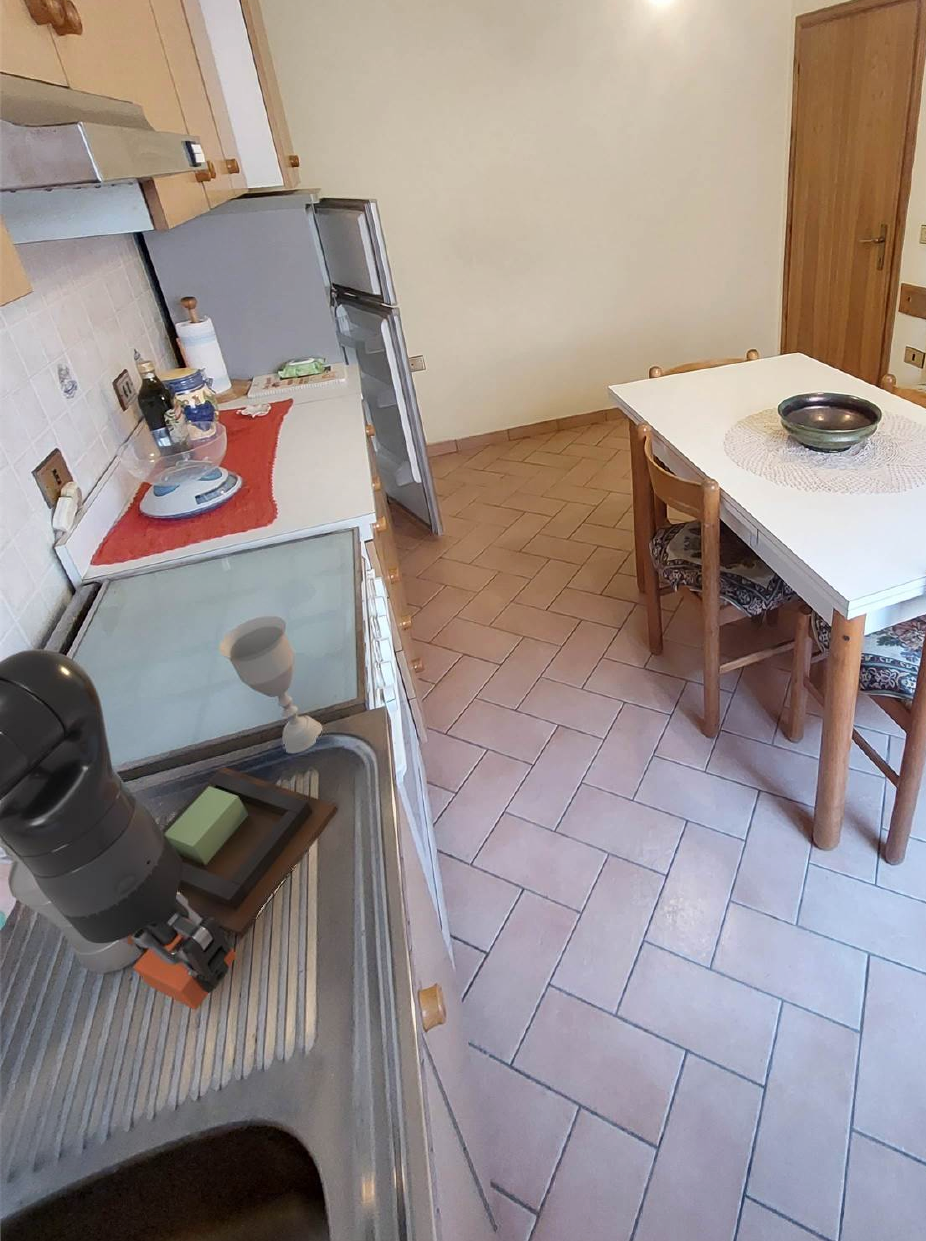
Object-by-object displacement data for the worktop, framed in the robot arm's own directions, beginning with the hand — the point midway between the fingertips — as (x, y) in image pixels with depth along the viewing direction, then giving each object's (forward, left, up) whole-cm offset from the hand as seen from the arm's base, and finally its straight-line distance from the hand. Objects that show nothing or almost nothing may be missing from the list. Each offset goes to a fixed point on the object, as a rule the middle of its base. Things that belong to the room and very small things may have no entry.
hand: (190, 967), depth 62 cm
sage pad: (-11, +11, -3) cm, 16 cm away
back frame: (-9, +11, -4) cm, 15 cm away
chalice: (-12, +25, -4) cm, 28 cm away
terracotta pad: (0, 0, -1) cm, 1 cm away
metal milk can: (-11, 0, -4) cm, 11 cm away
